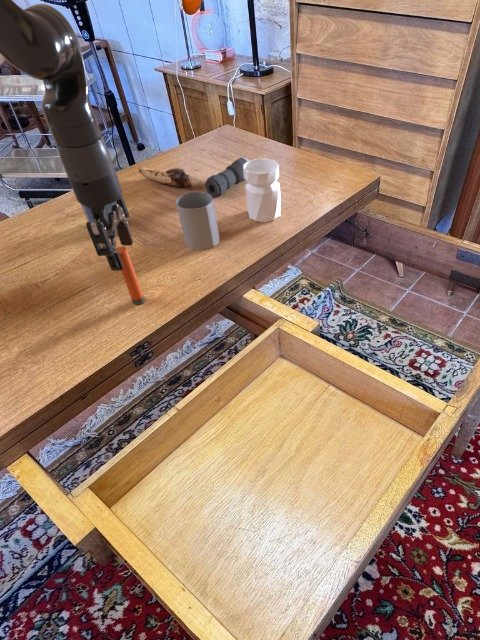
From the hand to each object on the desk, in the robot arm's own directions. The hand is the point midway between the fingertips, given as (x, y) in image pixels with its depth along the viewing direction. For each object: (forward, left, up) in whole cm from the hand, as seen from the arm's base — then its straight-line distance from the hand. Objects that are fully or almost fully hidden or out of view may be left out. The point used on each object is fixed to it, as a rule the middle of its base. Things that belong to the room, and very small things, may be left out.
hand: (123, 256), depth 85 cm
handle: (0, 0, -11) cm, 11 cm away
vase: (+26, +35, -11) cm, 45 cm away
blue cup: (-14, +31, -11) cm, 36 cm away
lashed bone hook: (-2, +56, -11) cm, 57 cm away
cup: (+11, +23, -11) cm, 28 cm away
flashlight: (+16, +51, -11) cm, 54 cm away
